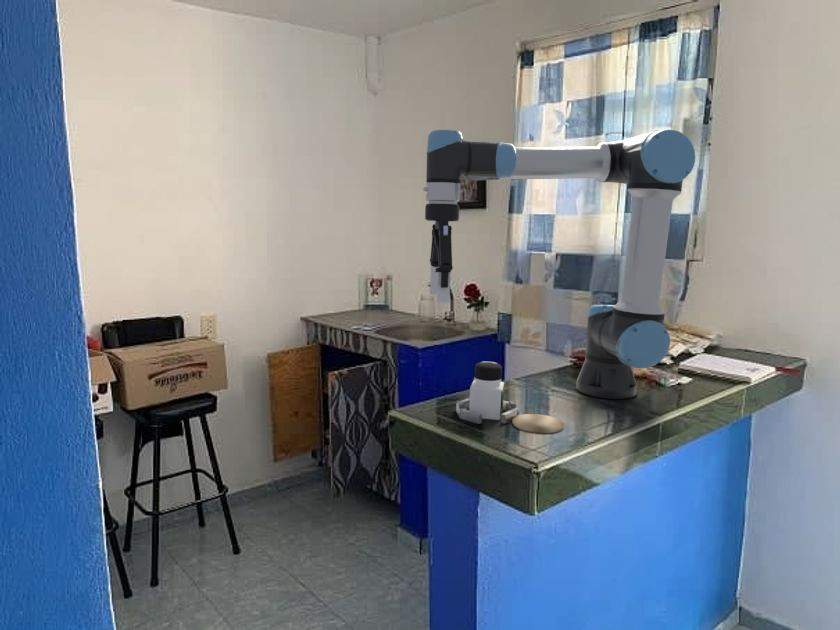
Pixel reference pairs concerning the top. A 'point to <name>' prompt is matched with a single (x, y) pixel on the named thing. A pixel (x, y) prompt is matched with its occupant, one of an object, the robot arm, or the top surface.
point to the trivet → (537, 423)
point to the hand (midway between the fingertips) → (439, 298)
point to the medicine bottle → (487, 391)
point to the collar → (477, 417)
